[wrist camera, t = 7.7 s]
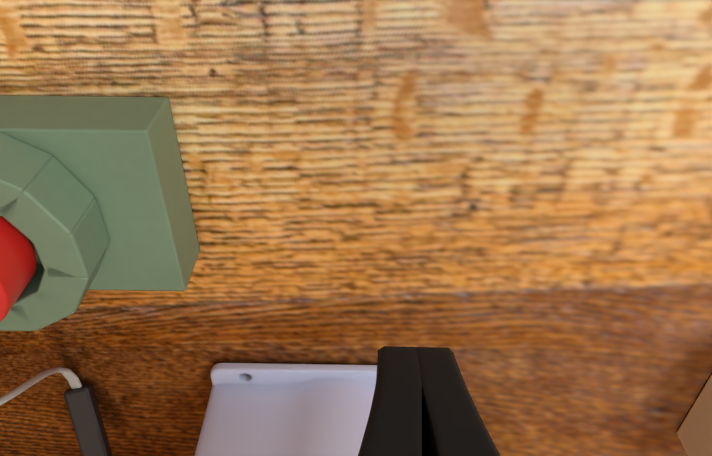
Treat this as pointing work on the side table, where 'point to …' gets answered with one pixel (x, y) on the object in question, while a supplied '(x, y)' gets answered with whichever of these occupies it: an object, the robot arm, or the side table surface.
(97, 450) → the clip-on lamp
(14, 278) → the red button
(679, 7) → the side table surface
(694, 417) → the block
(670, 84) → the side table surface
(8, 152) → the button housing
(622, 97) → the side table surface
